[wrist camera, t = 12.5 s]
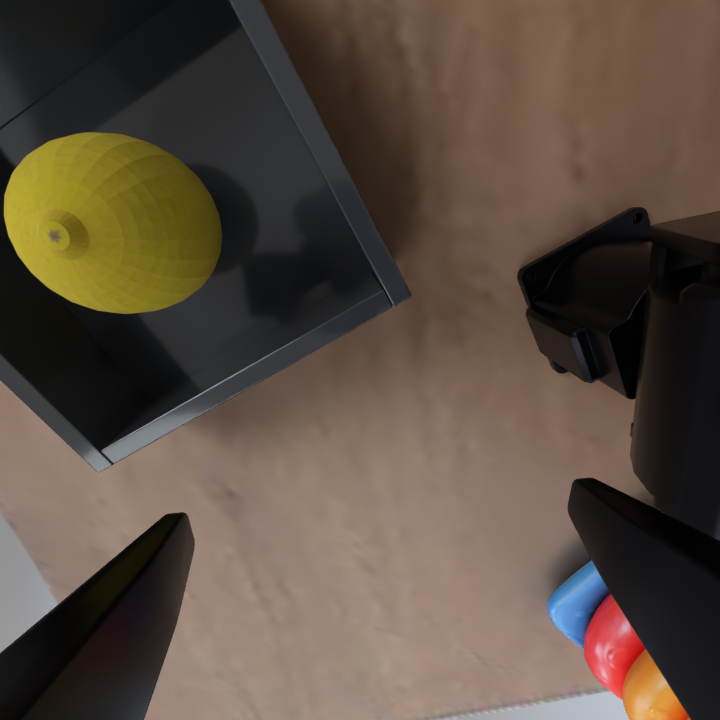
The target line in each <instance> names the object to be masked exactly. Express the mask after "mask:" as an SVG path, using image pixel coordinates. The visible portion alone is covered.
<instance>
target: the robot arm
mask: <svg viewBox="0 0 720 720" xmlns="http://www.w3.org/2000/svg"><path fill="white" fill-rule="evenodd" d="M635 214H636V220H635V222H632V218H633V216H634V215H635ZM529 272H532V276H531V278H530V279H529V280H526V275H527V273H529ZM517 278H518V282H519V285H520V287H521V290H522V292H523V295H524V297H525V300H526V303H527V305H528V309H527V311H526V317H527V320H528V322H529V325H530V327H531V330H532V332H533V335H534V338H535V340H536V343H537V345H538V348H539V350H540V352H541V353H542V354H544V355H545V356H547V357H548V359H549V362H550V364H551V367H552V368H553V369H554V370H555V371H557V372H558V373H566V372H568V371H569V372H571V373H572V374H574V375H575V376H577V377H578V378H580V379H581V380H583V381H584V382H588V383H593V382H595V381H597V380H600V381H601V382H603V383H604V384H606V385H607V386H609V387H611V388H612V389H614V390H615V391H617V392H619V393H620V394H622V395H623V396H625V397H627V398H628V399H635V398H636V401H635V411H634V421H633V423H632V424H631V432H630V435H631V437H632V442H631V452H630V457H631V461H632V466H633V470H634V473H635V474H636V476H637V477H638V478H639V480H640V481H641V482H642V484H643V485H644V486H645V487H646V489H647V490H648V491H649V492H650V493H651V494H652V495H653V499H652V501H653V504H654V505H655V506H656V507H657V508H658V509H659V510H661V511H662V512H661V511H659V510H657V509H655V508H653V507H651V506H649V505H647V504H645V503H642V502H640V501H638V500H636V499H634V498H632V497H630V496H628V495H626V494H624V493H622V492H620V491H618V490H616V489H614V488H612V487H610V486H608V485H606V484H604V483H602V482H600V481H598V480H596V479H594V478H581V479H576V480H574V481H573V483H572V487H571V492H570V497H569V502H568V513H569V516H570V518H571V520H572V522H573V524H574V526H575V528H576V530H577V532H578V534H579V536H580V538H581V540H582V542H583V544H584V546H585V548H586V550H587V551H588V553H589V555H590V557H591V559H592V561H593V563H594V565H595V567H596V569H597V571H598V573H599V574H600V576H601V578H602V580H603V582H604V583H605V585H606V587H607V588H608V590H609V592H610V593H611V595H612V596H613V598H614V599H615V601H616V603H617V604H618V606H619V607H620V609H621V610H622V612H623V614H624V615H625V617H626V618H627V620H628V622H629V623H630V625H631V626H632V628H633V629H634V631H635V633H636V634H637V636H638V637H639V639H640V641H641V642H642V644H643V645H644V647H645V648H646V650H647V652H648V653H649V655H650V656H651V658H652V659H653V661H654V663H655V664H656V666H657V667H658V669H659V671H660V672H661V674H662V675H663V677H664V678H665V680H666V682H667V683H668V685H669V686H670V688H671V689H672V691H673V693H674V694H675V696H676V697H677V699H678V701H679V702H680V704H681V705H682V707H683V708H684V710H685V712H686V713H687V715H688V716H689V718H690V720H720V211H717V212H712V213H707V214H702V215H697V216H692V217H687V218H682V219H678V220H673V221H668V222H663V223H658V224H653V225H650V221H649V217H648V213H647V211H646V209H644V208H642V207H632V208H629V209H627V210H626V211H624V212H622V213H620V214H618V215H616V216H615V217H613V218H611V219H609V220H607V221H606V222H604V223H602V224H600V225H598V226H596V227H595V228H593V229H591V230H589V231H587V232H586V233H584V234H582V235H580V236H578V237H576V238H575V239H573V240H571V241H569V242H567V243H566V244H564V245H562V246H560V247H558V248H557V249H555V250H553V251H551V252H549V253H547V254H546V255H544V256H542V257H540V258H538V259H537V260H535V261H533V262H531V263H529V264H527V265H526V266H524V267H523V268H521V269H520V271H519V272H518V276H517ZM559 365H560V366H559ZM194 545H195V543H194V537H193V533H192V529H191V525H190V522H189V518H188V516H187V514H186V513H183V512H181V513H170V514H166V515H165V516H163V517H162V518H161V519H160V520H158V521H157V522H156V523H155V524H154V525H152V526H151V527H150V528H149V529H148V530H147V531H145V532H144V533H143V534H142V535H141V536H139V537H138V538H137V539H136V540H135V541H133V542H132V543H131V544H130V545H129V546H127V547H126V548H125V549H124V550H123V551H122V552H120V553H119V554H118V555H117V556H116V557H114V558H113V559H112V560H111V561H110V562H108V563H107V564H106V565H105V566H104V567H102V568H101V569H100V570H99V571H98V572H96V573H95V574H94V575H93V576H92V577H91V578H89V579H88V580H87V581H86V582H85V583H83V584H82V585H81V586H80V587H79V588H77V589H76V590H75V591H74V592H73V593H71V594H70V595H69V596H68V597H67V598H65V599H64V600H63V601H62V602H61V603H60V604H58V605H57V606H56V607H55V608H54V609H53V610H51V611H50V612H49V613H48V614H46V615H45V616H44V617H43V618H42V619H40V620H39V621H38V622H37V623H36V624H35V625H33V626H32V627H31V628H30V629H29V630H27V631H26V632H25V633H24V634H23V635H21V636H20V637H19V638H18V639H17V640H15V641H14V642H13V643H12V644H11V645H9V646H8V647H7V648H6V649H5V650H4V651H2V652H1V653H0V720H144V718H145V715H146V712H147V709H148V706H149V703H150V701H151V698H152V695H153V692H154V689H155V686H156V683H157V680H158V677H159V674H160V671H161V668H162V665H163V663H164V660H165V657H166V654H167V651H168V648H169V645H170V642H171V639H172V636H173V633H174V630H175V627H176V624H177V620H178V616H179V612H180V608H181V604H182V599H183V595H184V591H185V587H186V582H187V578H188V574H189V570H190V565H191V561H192V557H193V553H194Z"/></svg>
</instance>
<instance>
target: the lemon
mask: <svg viewBox="0 0 720 720" xmlns="http://www.w3.org/2000/svg"><path fill="white" fill-rule="evenodd" d="M4 218H5V223H6V227H7V232H8V236H9V238H10V240H11V242H12V244H13V246H14V248H15V250H16V252H17V254H18V256H19V257H20V259H21V260H22V261H23V263H24V264H25V265H26V266H27V268H28V269H29V270H30V272H31V273H32V274H33V275H34V276H35V277H37V278H38V279H39V280H40V281H41V282H42V283H43V284H44V285H46V286H47V287H48V288H49V289H51V290H52V291H54V292H56V293H57V294H59V295H61V296H63V297H64V298H66V299H68V300H69V301H71V302H74V303H76V304H79V305H82V306H85V307H88V308H91V309H94V310H98V311H105V312H113V313H122V314H132V313H142V312H151V311H157V310H161V309H164V308H166V307H169V306H171V305H174V304H177V303H179V302H181V301H184V300H185V299H186V298H188V297H189V296H190V295H192V294H193V293H194V292H196V291H197V290H198V289H200V288H201V287H202V286H203V285H204V283H205V282H206V281H207V279H208V278H209V277H210V275H211V274H212V273H213V271H214V269H215V267H216V264H217V261H218V259H219V256H220V253H221V244H222V228H221V222H220V215H219V213H218V210H217V208H216V205H215V203H214V201H213V198H212V196H211V194H210V193H209V191H208V190H207V189H206V187H205V186H204V184H203V183H202V181H201V180H200V178H199V177H198V176H197V175H196V174H195V173H194V172H193V171H191V170H190V169H189V168H188V167H187V166H186V165H185V164H184V163H183V162H182V161H181V160H180V159H178V158H177V157H175V156H173V155H172V154H170V153H168V152H166V151H165V150H163V149H161V148H160V147H158V146H156V145H154V144H152V143H149V142H146V141H143V140H140V139H136V138H133V137H130V136H127V135H123V134H114V133H95V132H85V133H79V134H74V135H70V136H66V137H62V138H58V139H54V140H51V141H48V142H47V143H45V144H44V145H42V146H41V147H39V148H37V149H36V150H34V151H33V152H31V153H30V154H28V155H27V156H25V158H24V159H23V160H22V161H21V163H20V164H19V165H18V166H17V168H16V169H15V170H14V171H13V173H12V175H11V178H10V180H9V183H8V186H7V189H6V192H5V195H4Z"/></svg>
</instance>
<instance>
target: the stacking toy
mask: <svg viewBox="0 0 720 720" xmlns="http://www.w3.org/2000/svg"><path fill="white" fill-rule="evenodd" d="M547 609H548V613H549V615H550V618H551V620H552V621H553V623H554V624H555V626H556V627H557V628H558V629H559V630H560V631H561V632H562V633H564V634H565V635H566V636H567V637H568V638H570V639H571V640H572V641H574V642H575V643H576V644H578V645H579V646H581V647H583V648H584V651H585V659H586V662H587V664H588V666H589V668H590V669H591V671H592V673H593V674H594V676H595V677H596V678H597V679H598V681H599V682H600V683H601V684H602V685H603V686H604V687H605V688H606V689H608V690H609V691H610V692H611V693H613V694H614V695H616V696H617V697H619V698H620V699H622V700H623V703H624V707H625V710H626V713H627V715H628V717H629V718H630V720H690V718H689V716H688V715H687V713H686V712H685V710H684V708H683V707H682V705H681V704H680V702H679V701H678V699H677V697H676V696H675V694H674V693H673V691H672V689H671V688H670V686H669V685H668V683H667V682H666V680H665V678H664V677H663V675H662V674H661V672H660V671H659V669H658V667H657V666H656V664H655V663H654V661H653V659H652V658H651V656H650V655H649V653H648V652H647V650H646V648H645V647H644V645H643V644H642V642H641V641H640V639H639V637H638V636H637V634H636V633H635V631H634V629H633V628H632V626H631V625H630V623H629V622H628V620H627V618H626V617H625V615H624V614H623V612H622V610H621V609H620V607H619V606H618V604H617V603H616V601H615V599H614V598H613V596H612V595H611V593H610V592H609V590H608V588H607V587H606V585H605V583H604V582H603V580H602V578H601V576H600V574H599V573H598V571H597V569H596V567H595V565H594V563H593V561H592V560H591V561H590V562H588V563H587V564H586V565H584V566H583V567H582V568H580V569H579V570H578V571H577V572H575V573H574V574H573V575H572V576H571V577H569V578H568V579H567V580H566V581H565V582H564V583H563V584H562V585H561V586H559V587H558V588H557V589H556V591H555V592H554V593H553V594H552V596H551V597H550V599H549V601H548V604H547Z"/></svg>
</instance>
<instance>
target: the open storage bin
mask: <svg viewBox="0 0 720 720" xmlns="http://www.w3.org/2000/svg"><path fill="white" fill-rule="evenodd" d="M85 132H95V133H114V134H123V135H127V136H130V137H133V138H136V139H140V140H143V141H146V142H149V143H152V144H154V145H156V146H158V147H160V148H161V149H163V150H165V151H166V152H168V153H170V154H172V155H173V156H175V157H177V158H178V159H180V160H181V161H182V162H183V163H184V164H185V165H186V166H187V167H188V168H189V169H190V170H191V171H193V172H194V173H195V174H196V175H197V176H198V177H199V178H200V180H201V181H202V183H203V184H204V186H205V187H206V189H207V190H208V191H209V193H210V194H211V196H212V198H213V201H214V203H215V205H216V208H217V210H218V213H219V215H220V222H221V228H222V244H221V253H220V256H219V259H218V261H217V264H216V267H215V269H214V271H213V273H212V274H211V275H210V277H209V278H208V279H207V281H206V282H205V283H204V285H203V286H202V287H201V288H200V289H198V290H197V291H196V292H194V293H193V294H192V295H190V296H189V297H188V298H186V299H185V300H184V301H181V302H179V303H177V304H174V305H171V306H169V307H166V308H164V309H161V310H157V311H151V312H142V313H132V314H122V313H113V312H105V311H98V310H94V309H91V308H88V307H85V306H82V305H79V304H76V303H74V302H71V301H69V300H68V299H66V298H64V297H63V296H61V295H59V294H57V293H56V292H54V291H52V290H51V289H49V288H48V287H47V286H46V285H44V284H43V283H42V282H41V281H40V280H39V279H38V278H37V277H35V276H34V275H33V274H32V273H31V272H30V270H29V269H28V268H27V266H26V265H25V264H24V263H23V261H22V260H21V259H20V257H19V256H18V254H17V252H16V250H15V248H14V246H13V244H12V242H11V240H10V238H9V236H8V232H7V227H6V223H5V218H4V195H5V192H6V189H7V186H8V183H9V180H10V178H11V175H12V173H13V171H14V170H15V169H16V168H17V166H18V165H19V164H20V163H21V161H22V160H23V159H24V158H25V156H27V155H28V154H30V153H31V152H33V151H34V150H36V149H37V148H39V147H41V146H42V145H44V144H45V143H47V142H48V141H51V140H54V139H58V138H62V137H66V136H70V135H74V134H79V133H85ZM410 297H411V293H410V291H409V289H408V287H407V285H406V283H405V281H404V279H403V277H402V275H401V273H400V271H399V269H398V267H397V265H396V263H395V261H394V259H393V257H392V255H391V253H390V251H389V250H388V248H387V246H386V244H385V242H384V240H383V238H382V236H381V234H380V232H379V230H378V228H377V226H376V224H375V222H374V220H373V218H372V216H371V214H370V212H369V210H368V208H367V206H366V204H365V203H364V201H363V199H362V197H361V195H360V193H359V191H358V189H357V187H356V185H355V183H354V181H353V179H352V177H351V175H350V173H349V171H348V169H347V167H346V165H345V163H344V161H343V159H342V157H341V156H340V154H339V152H338V150H337V148H336V146H335V144H334V142H333V140H332V138H331V136H330V134H329V132H328V130H327V128H326V126H325V124H324V122H323V120H322V118H321V116H320V114H319V112H318V110H317V108H316V107H315V105H314V103H313V101H312V99H311V97H310V95H309V93H308V91H307V89H306V87H305V85H304V83H303V81H302V79H301V77H300V75H299V73H298V71H297V69H296V67H295V65H294V63H293V61H292V60H291V58H290V56H289V54H288V52H287V50H286V48H285V46H284V44H283V42H282V40H281V38H280V36H279V34H278V32H277V30H276V28H275V26H274V24H273V22H272V20H271V18H270V16H269V14H268V12H267V11H266V9H265V7H264V5H263V3H262V1H261V0H0V380H1V381H2V382H3V383H4V384H5V385H6V386H7V387H8V388H9V389H10V390H11V391H12V392H13V393H14V394H15V395H16V396H18V397H19V398H20V399H21V400H22V401H23V402H24V403H25V404H26V405H27V406H28V407H29V408H30V409H31V410H32V411H33V412H34V413H35V414H36V415H38V416H39V417H40V418H41V419H42V420H43V421H44V422H45V423H46V424H47V425H48V426H49V427H50V428H51V429H52V430H53V431H54V432H55V433H57V434H58V435H59V436H60V437H61V438H62V439H63V440H64V441H65V442H66V443H67V444H68V445H69V446H70V447H71V448H72V449H73V450H74V451H76V452H77V453H78V454H79V455H80V456H81V457H82V458H83V459H84V460H85V461H86V462H87V463H88V464H89V465H90V466H91V467H92V468H93V469H95V470H96V471H97V472H98V473H99V472H101V471H103V470H105V469H106V468H108V467H110V466H112V465H113V464H114V463H117V462H118V461H120V460H122V459H124V458H126V457H127V456H129V455H131V454H133V453H134V452H136V451H138V450H140V449H142V448H143V447H145V446H147V445H149V444H150V443H152V442H154V441H156V440H158V439H159V438H161V437H163V436H165V435H167V434H168V433H170V432H172V431H174V430H175V429H177V428H179V427H181V426H183V425H184V424H186V423H188V422H190V421H191V420H193V419H195V418H197V417H199V416H200V415H202V414H204V413H206V412H207V411H209V410H211V409H213V408H215V407H216V406H218V405H220V404H222V403H224V402H225V401H227V400H229V399H231V398H232V397H234V396H236V395H238V394H240V393H241V392H243V391H245V390H247V389H248V388H250V387H252V386H254V385H256V384H257V383H259V382H261V381H263V380H264V379H266V378H268V377H270V376H272V375H273V374H275V373H277V372H279V371H280V370H282V369H284V368H286V367H288V366H289V365H291V364H293V363H295V362H297V361H298V360H300V359H302V358H304V357H305V356H307V355H309V354H311V353H313V352H314V351H316V350H318V349H320V348H321V347H323V346H325V345H327V344H329V343H330V342H332V341H334V340H336V339H337V338H339V337H341V336H343V335H345V334H346V333H348V332H350V331H352V330H354V329H355V328H357V327H359V326H361V325H362V324H364V323H366V322H368V321H370V320H371V319H373V318H375V317H377V316H378V315H380V314H382V313H384V312H386V311H387V310H389V309H391V308H392V305H393V306H396V305H398V304H400V303H401V302H403V301H405V300H407V299H408V298H410Z"/></svg>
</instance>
